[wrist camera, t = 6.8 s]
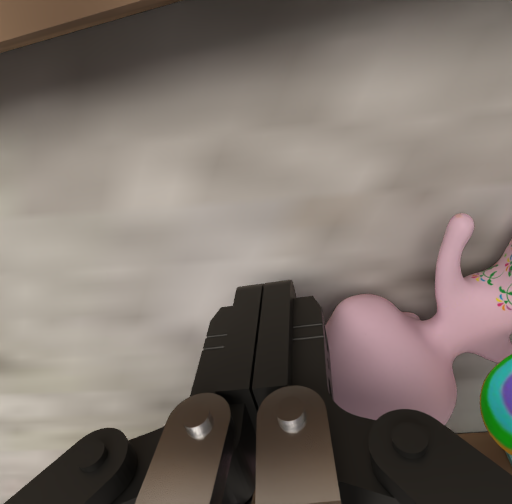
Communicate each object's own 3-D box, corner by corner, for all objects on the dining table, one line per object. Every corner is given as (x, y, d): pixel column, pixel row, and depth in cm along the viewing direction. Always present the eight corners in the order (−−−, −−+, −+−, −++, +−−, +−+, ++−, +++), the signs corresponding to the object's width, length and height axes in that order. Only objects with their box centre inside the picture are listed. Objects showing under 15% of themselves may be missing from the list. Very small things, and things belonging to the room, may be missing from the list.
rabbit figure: (578, 67, 10) (161, 379, 14) (950, 85, 5) (112, 577, 9) (657, 239, 12) (276, 467, 16) (973, 380, 7) (293, 669, 11)
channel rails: (786, -319, 6) (1262, -628, 3) (578, 455, 16) (644, 564, 13) (-237, 36, 10) (-463, 52, 7) (92, 475, 20) (55, 561, 17)
